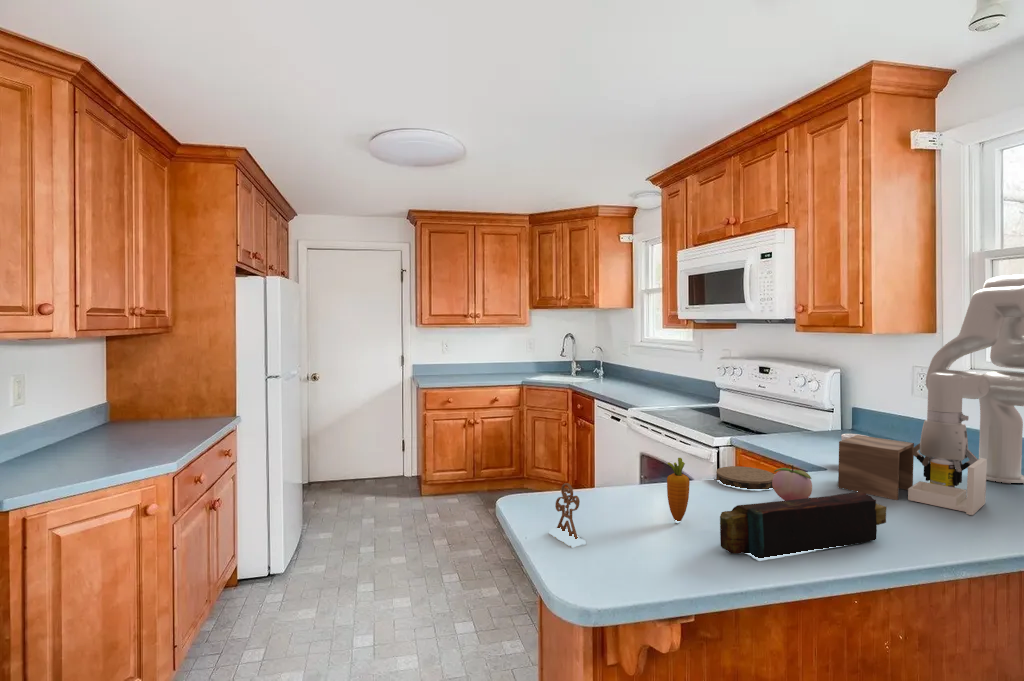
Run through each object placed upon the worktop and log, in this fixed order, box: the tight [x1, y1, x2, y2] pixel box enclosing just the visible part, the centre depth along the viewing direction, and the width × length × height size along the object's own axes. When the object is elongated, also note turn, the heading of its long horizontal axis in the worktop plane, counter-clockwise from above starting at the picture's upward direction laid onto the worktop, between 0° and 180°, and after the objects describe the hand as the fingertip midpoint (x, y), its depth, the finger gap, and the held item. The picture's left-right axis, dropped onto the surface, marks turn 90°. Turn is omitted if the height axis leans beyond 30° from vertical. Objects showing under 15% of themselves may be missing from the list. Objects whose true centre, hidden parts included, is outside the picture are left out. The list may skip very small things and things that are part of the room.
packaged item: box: [719, 491, 887, 558], centre depth 117 cm, size 39×10×10 cm, turn 108°
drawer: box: [907, 458, 987, 516], centre depth 143 cm, size 14×14×11 cm
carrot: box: [666, 457, 691, 522], centre depth 128 cm, size 5×5×15 cm
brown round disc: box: [715, 465, 775, 489], centre depth 161 cm, size 16×16×3 cm
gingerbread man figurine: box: [555, 482, 580, 539], centre depth 119 cm, size 9×4×12 cm, turn 29°
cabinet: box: [837, 434, 915, 501], centre depth 155 cm, size 14×14×13 cm
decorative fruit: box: [772, 465, 813, 501], centre depth 142 cm, size 9×8×10 cm
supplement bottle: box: [929, 458, 956, 488], centre depth 155 cm, size 6×6×10 cm
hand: (942, 481), depth 155 cm, fingers closed on supplement bottle, 5 cm apart
